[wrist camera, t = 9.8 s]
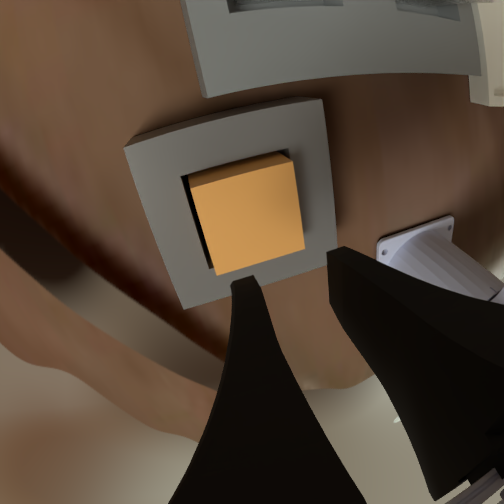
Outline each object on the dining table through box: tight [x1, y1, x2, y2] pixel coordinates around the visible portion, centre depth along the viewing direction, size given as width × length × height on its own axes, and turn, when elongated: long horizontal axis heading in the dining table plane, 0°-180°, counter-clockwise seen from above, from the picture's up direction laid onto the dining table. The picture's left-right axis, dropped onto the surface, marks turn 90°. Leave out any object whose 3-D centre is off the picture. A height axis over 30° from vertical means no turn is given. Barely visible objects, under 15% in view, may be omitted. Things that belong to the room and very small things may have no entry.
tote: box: [469, 0, 504, 106], centre depth 13 cm, size 16×11×2 cm
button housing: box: [124, 96, 337, 309], centre depth 16 cm, size 9×9×3 cm
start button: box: [187, 151, 305, 276], centre depth 15 cm, size 4×4×3 cm
